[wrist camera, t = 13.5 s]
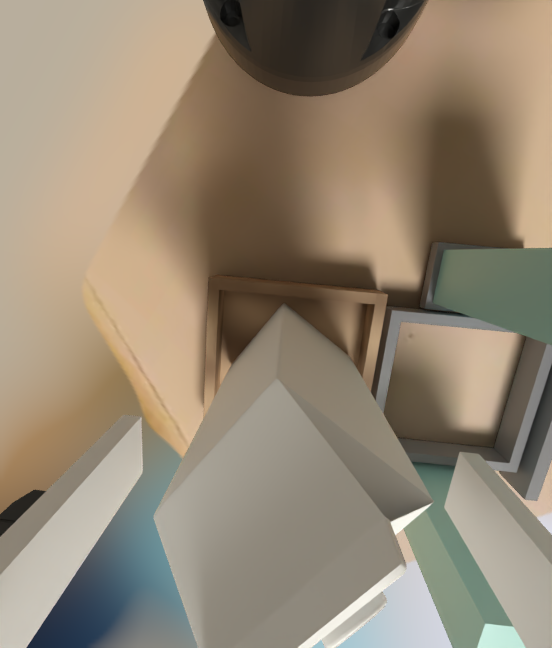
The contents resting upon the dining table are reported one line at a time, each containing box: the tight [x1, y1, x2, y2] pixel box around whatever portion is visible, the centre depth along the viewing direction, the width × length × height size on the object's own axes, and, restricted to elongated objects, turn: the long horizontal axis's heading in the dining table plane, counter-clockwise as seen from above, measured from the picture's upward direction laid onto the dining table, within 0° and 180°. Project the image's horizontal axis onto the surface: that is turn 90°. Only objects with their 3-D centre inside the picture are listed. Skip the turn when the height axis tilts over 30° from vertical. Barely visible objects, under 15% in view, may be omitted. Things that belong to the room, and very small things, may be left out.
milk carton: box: [154, 303, 434, 648], centre depth 16 cm, size 7×7×19 cm
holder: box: [371, 242, 552, 648], centre depth 19 cm, size 23×14×13 cm, turn 175°
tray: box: [203, 275, 388, 419], centre depth 25 cm, size 13×13×3 cm
